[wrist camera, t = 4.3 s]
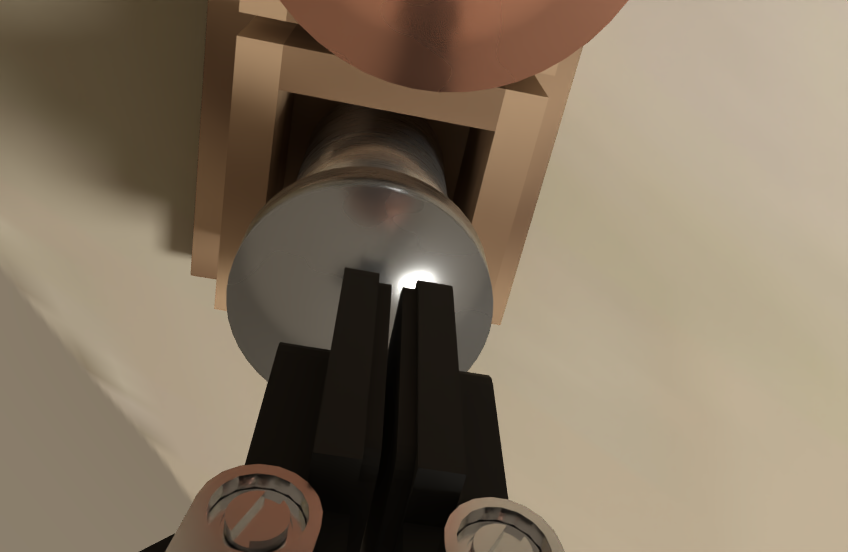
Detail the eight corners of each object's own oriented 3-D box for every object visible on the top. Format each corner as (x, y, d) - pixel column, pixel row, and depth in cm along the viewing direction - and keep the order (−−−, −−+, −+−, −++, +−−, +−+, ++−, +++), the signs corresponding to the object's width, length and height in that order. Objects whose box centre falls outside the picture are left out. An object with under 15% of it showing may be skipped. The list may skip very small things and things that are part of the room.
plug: (296, 56, 20) (237, 162, 13) (481, 92, 20) (523, 213, 13) (276, 226, 22) (216, 396, 15) (442, 255, 23) (460, 430, 16)
